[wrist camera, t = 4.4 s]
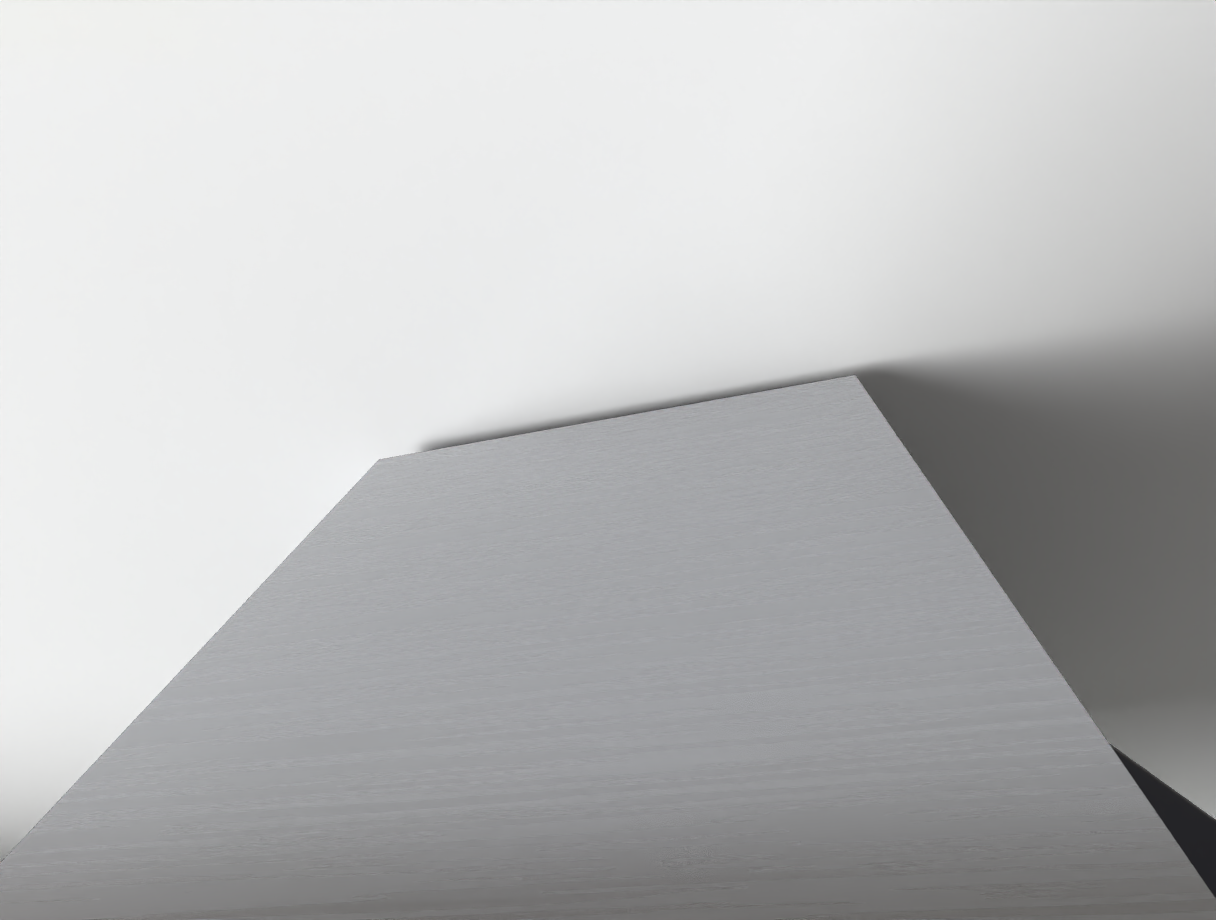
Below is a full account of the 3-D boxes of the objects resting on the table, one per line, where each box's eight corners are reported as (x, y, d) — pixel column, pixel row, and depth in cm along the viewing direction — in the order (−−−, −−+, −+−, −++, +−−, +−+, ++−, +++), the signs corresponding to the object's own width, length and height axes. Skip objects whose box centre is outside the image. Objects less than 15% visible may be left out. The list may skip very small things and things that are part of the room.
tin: (507, 783, 11) (288, 1582, 5) (379, 460, 9) (-330, 1212, 3) (888, 753, 10) (1205, 1732, 4) (856, 374, 8) (1509, 1323, 2)
